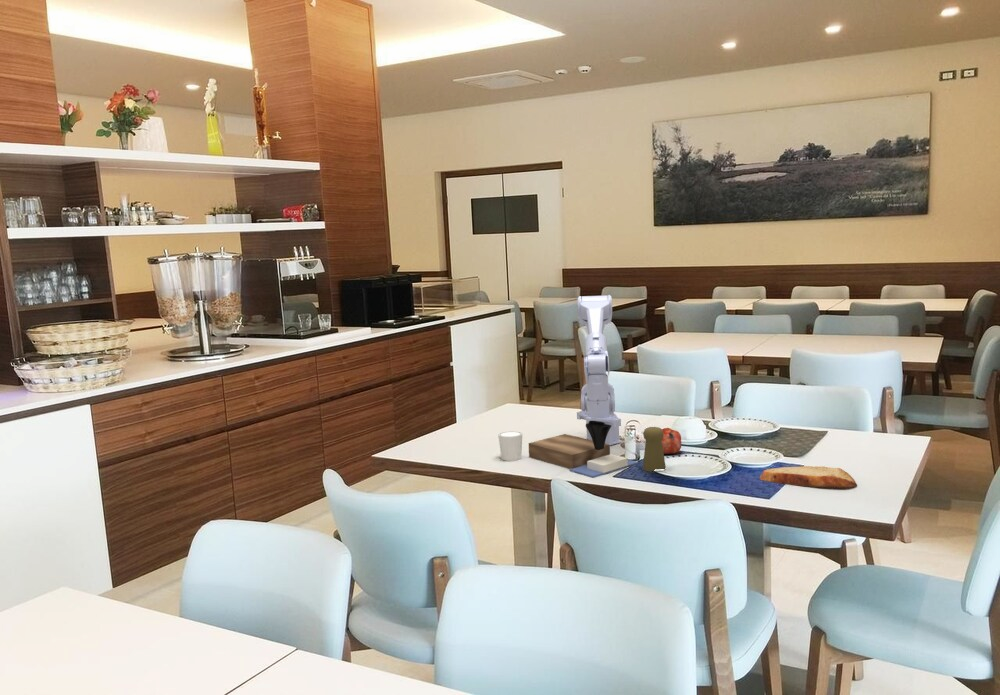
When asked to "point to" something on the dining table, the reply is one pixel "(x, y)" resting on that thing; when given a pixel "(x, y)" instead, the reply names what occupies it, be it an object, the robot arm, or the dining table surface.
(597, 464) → the block
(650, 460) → the cork
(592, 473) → the mat
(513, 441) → the white cup
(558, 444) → the brown wooden slab
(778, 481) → the bread slice
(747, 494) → the dining table surface
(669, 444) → the pomegranate
